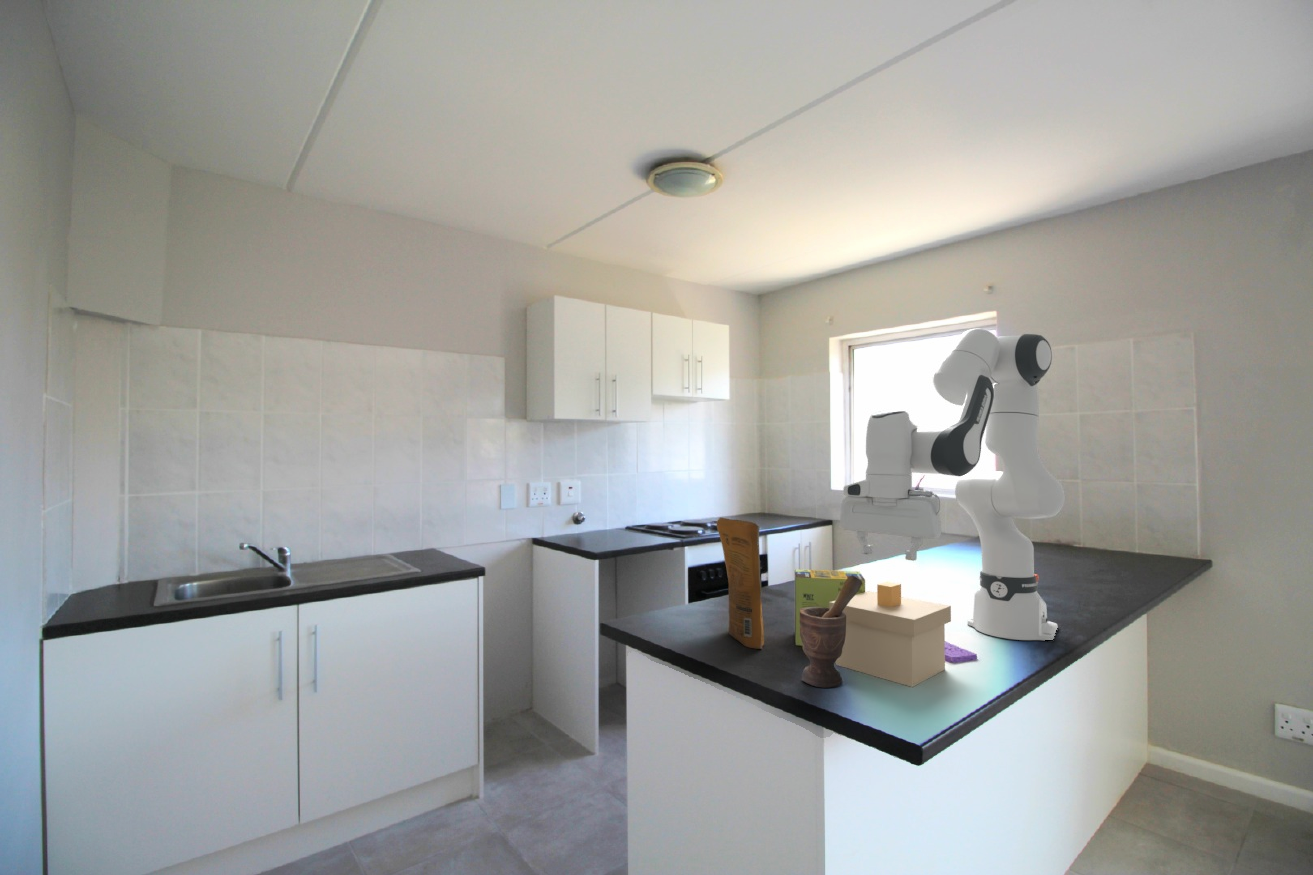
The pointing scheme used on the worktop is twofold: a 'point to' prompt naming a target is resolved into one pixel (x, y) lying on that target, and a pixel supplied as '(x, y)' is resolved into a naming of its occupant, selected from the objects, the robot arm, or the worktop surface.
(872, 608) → the carton lid
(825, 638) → the mortar and pestle
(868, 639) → the carton
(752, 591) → the pancake mix bag
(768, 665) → the worktop surface
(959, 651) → the sponges
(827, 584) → the protein box
